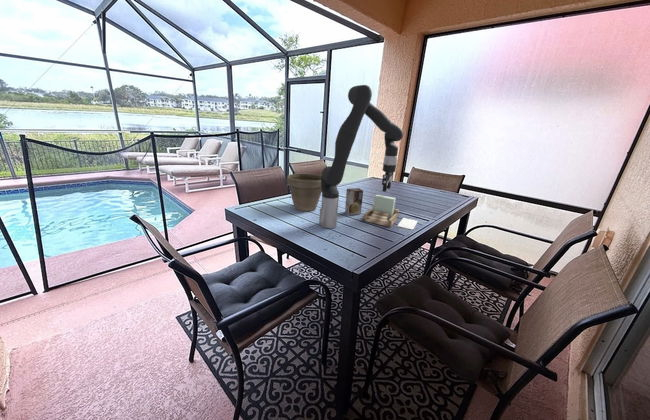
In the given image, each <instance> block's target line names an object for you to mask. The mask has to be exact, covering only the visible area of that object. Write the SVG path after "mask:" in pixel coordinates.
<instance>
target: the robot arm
mask: <svg viewBox="0 0 650 420" xmlns="http://www.w3.org/2000/svg"><path fill="white" fill-rule="evenodd" d="M372 97H373V91H372V88H371V87H370V86H369V85H367V84H359V85H354V86H352V87H350V89H348V93H347V99H348V101H349V103H350V104H351V105H352V108H351V110H350V113H349V115H348V116H347V117H346V118H345V120H344V121H343V122H342V124H341V125H340V127H339V130H338V133H337V135H336V138H335V143H334V144H335V145H334V158H333V161H332V162H331V163H332V164H331V166H330V165H329V166H326V167H324V168H323V169H322V172H321V191H322V192H321V205H320V206H321V208H320V209H319V215H318V216H319V218H318V219H319V222H318V225H319V226H321V227H322V228H325V229H334V228H336V227H337V226H338V225H337V224H338V213H339V211H338V210H339V197H340V192H339V189H338V187H337V186H338V185H339V184H340V183H341V182H342V180H343V178H344V175H345V170H346V165H347V163H348V160H349V157H350V153H351V150H352V148H353V145H354V143H355V140H356V137H357V135H358V131H359V129H360V126H361V124H362V120H363V118H364V115H365V116H367V118H369V119H370V120H371V122H372V123H373V124H375V126H377V127H378V129H379V130H380V131H381V132H383V133H384V136H383V137H384V147H385V150H384V151H385V152H384V158H383V162H382V163H383V164H382V172H385V173H384V174H383V175H382V182H381V185H382V192H383V193H386V192H387V190H390V189H391V186H392V182H393V180H394V173H396V168H397V162H398V152H399V147H398V146H397V145H396V144H395V142H399V141H401V140H402V139H403V137H404V133H403V130H402V128H401V127H399V125H397V124H396V123H394V122H393V121H391V119H390V118H389V117H388V116H387V115H386V113H385V112H383V111H382V110H380V109H379V108H378V107H376V106H375V105H374V104H372V102H371V101H372Z"/></svg>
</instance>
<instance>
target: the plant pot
mask: <svg viewBox="0 0 650 420" xmlns="http://www.w3.org/2000/svg"><path fill="white" fill-rule="evenodd" d="M321 175H322V174H321ZM321 175H320V174H316V173H304V172H303V173H291V174H288V175H287V177H286V181H287V182H286V183H287V185H288V187H289V191H290V195H291V199H292V203H293V204H292V205H293V207H294V209H295V210H297V211H299V212H313V211H315V210H316V209H317V207H318V205H319V201H320V198H321V197H322V191H321Z"/></svg>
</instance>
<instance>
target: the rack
mask: <svg viewBox="0 0 650 420" xmlns="http://www.w3.org/2000/svg"><path fill="white" fill-rule="evenodd" d="M371 207H372V208H370V209H369V210H367V211H366V212H365V213H364V214H363V219H362V221H364V222H369V223H372V224H377V225H381V226H384V227H388V228H392V226H393V225H394V224H395V222H397V220H398V218H399V213H400V209H398V208H394V213H393V216H392V217H391V218H390V219H389V220H388V221H387V220H383V219H379V218H374V217H371V215H372V214H373V208H374V203H373V204H372V205H371Z"/></svg>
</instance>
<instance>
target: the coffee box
mask: <svg viewBox="0 0 650 420" xmlns="http://www.w3.org/2000/svg"><path fill="white" fill-rule="evenodd" d="M363 195H364V190H363V189H362V188H360V187H354V188H346V195H345V207H344V212H345V213H346V214H347V215H348V216H353V215H354V216H355V215H361V214H362V207H363V197H364V196H363Z"/></svg>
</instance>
